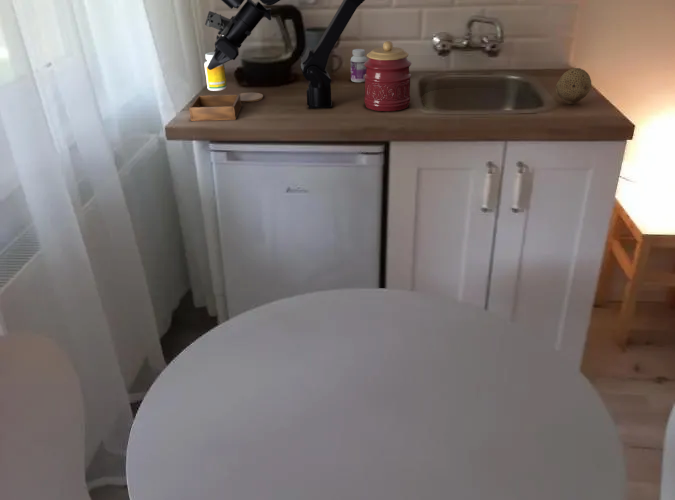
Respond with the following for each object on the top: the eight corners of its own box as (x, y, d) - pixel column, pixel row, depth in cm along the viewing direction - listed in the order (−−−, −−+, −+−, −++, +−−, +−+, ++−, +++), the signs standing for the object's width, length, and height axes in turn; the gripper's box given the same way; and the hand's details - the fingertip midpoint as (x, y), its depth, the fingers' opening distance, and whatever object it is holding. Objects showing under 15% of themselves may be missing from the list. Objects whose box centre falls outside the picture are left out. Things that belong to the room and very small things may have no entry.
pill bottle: (348, 79, 205) (348, 49, 200) (363, 77, 206) (363, 47, 201) (353, 83, 200) (353, 52, 195) (369, 81, 201) (369, 50, 197)
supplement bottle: (204, 88, 174) (199, 53, 170) (221, 85, 177) (217, 50, 172) (213, 92, 170) (207, 56, 166) (230, 88, 173) (226, 53, 168)
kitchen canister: (395, 96, 185) (396, 34, 176) (418, 107, 175) (421, 42, 166) (356, 103, 180) (355, 39, 172) (377, 114, 170) (378, 48, 161)
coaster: (264, 93, 192) (264, 92, 192) (261, 101, 184) (261, 100, 184) (235, 94, 192) (235, 92, 192) (231, 102, 185) (231, 101, 184)
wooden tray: (241, 106, 181) (240, 94, 179) (235, 119, 170) (234, 106, 168) (199, 107, 181) (197, 95, 179) (190, 120, 170) (188, 107, 168)
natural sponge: (589, 110, 169) (596, 72, 164) (555, 108, 171) (560, 71, 166) (586, 100, 176) (592, 64, 171) (553, 99, 178) (558, 63, 173)
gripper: (222, -5, 171) (187, 39, 175) (219, 4, 155) (181, 53, 159) (254, 23, 175) (219, 66, 180) (254, 35, 159) (216, 82, 164)
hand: (209, 66), depth 171 cm, fingers closed on supplement bottle, 5 cm apart
